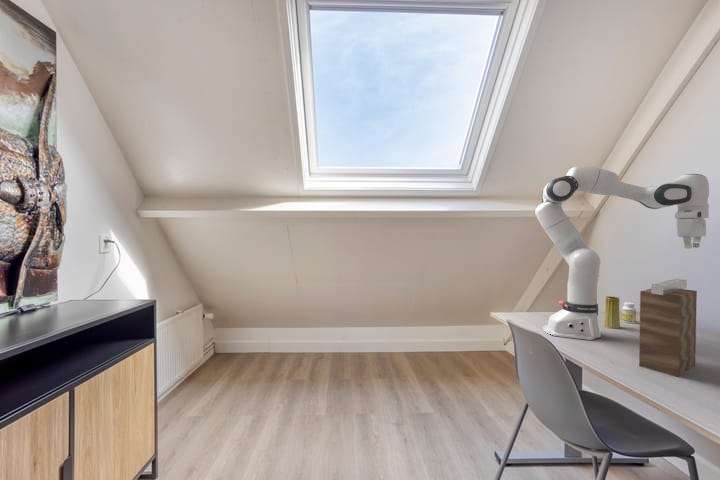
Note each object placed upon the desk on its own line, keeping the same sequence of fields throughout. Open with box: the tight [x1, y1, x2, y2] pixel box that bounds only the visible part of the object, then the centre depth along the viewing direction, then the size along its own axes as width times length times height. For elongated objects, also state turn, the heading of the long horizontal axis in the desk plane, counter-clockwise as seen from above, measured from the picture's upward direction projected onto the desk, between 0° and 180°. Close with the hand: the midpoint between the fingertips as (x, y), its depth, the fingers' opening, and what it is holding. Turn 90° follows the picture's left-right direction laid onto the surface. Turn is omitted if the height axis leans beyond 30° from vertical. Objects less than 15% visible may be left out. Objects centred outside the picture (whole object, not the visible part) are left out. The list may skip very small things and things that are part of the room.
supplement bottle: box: [621, 301, 637, 324], centre depth 164 cm, size 5×5×10 cm
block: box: [650, 278, 688, 295], centre depth 112 cm, size 22×3×3 cm, turn 121°
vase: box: [603, 296, 621, 330], centre depth 156 cm, size 6×6×14 cm
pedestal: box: [638, 288, 698, 378], centre depth 112 cm, size 16×10×26 cm, turn 120°
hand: (692, 248), depth 133 cm, fingers open, 8 cm apart
